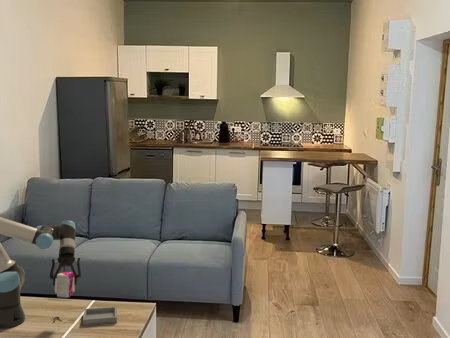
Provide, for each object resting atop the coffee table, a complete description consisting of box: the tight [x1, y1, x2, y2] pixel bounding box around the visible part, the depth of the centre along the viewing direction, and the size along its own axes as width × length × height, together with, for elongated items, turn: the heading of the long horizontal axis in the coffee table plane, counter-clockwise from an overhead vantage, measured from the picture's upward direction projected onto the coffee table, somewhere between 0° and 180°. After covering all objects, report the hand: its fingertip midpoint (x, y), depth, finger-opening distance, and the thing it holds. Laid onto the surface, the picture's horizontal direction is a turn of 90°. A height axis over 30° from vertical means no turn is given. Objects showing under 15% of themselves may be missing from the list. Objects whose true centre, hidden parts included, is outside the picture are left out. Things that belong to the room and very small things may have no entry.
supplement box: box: [56, 270, 74, 299], centre depth 236 cm, size 6×6×12 cm
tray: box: [82, 305, 118, 327], centre depth 241 cm, size 16×13×3 cm
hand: (64, 291), depth 233 cm, fingers closed on supplement box, 7 cm apart
